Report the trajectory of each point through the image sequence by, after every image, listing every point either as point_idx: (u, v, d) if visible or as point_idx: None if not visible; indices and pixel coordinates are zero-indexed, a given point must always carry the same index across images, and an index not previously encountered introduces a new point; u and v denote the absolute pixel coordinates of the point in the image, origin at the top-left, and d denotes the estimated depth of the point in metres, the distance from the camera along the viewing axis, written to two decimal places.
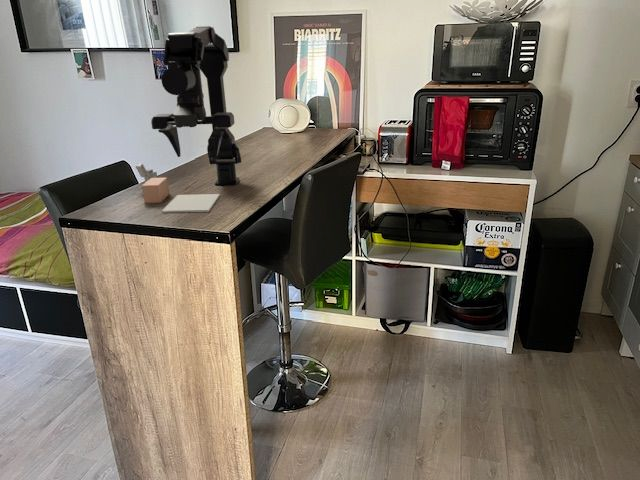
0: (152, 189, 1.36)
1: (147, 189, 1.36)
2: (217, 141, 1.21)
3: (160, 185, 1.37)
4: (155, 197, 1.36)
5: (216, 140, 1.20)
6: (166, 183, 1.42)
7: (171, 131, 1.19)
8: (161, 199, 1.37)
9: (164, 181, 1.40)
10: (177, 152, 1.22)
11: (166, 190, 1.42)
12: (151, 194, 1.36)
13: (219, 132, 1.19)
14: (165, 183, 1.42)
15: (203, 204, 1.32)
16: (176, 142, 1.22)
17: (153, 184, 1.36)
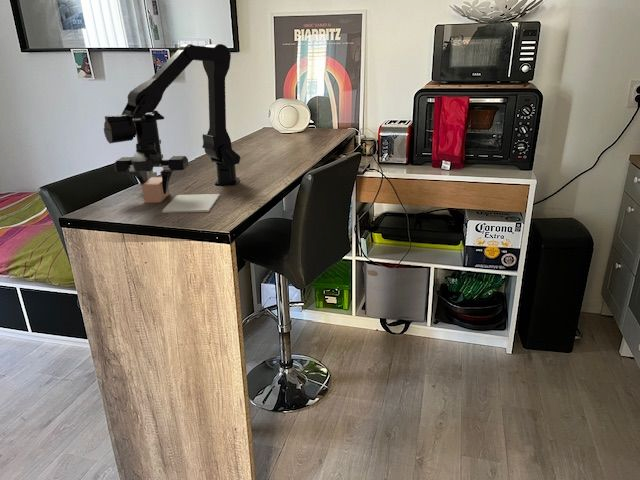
0: (152, 188, 1.36)
1: (147, 188, 1.36)
2: (165, 181, 1.38)
3: (160, 184, 1.37)
4: (155, 196, 1.36)
5: (164, 181, 1.38)
6: None
7: (140, 173, 1.36)
8: (161, 198, 1.37)
9: None
10: None
11: None
12: (151, 193, 1.36)
13: (166, 174, 1.36)
14: None
15: (203, 204, 1.32)
16: None
17: (153, 183, 1.36)
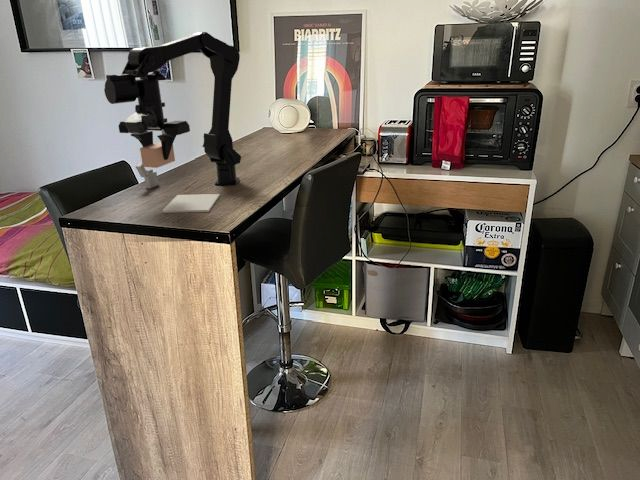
0: (149, 153, 1.31)
1: (145, 152, 1.31)
2: (164, 146, 1.32)
3: (158, 149, 1.31)
4: (152, 161, 1.31)
5: (163, 145, 1.32)
6: None
7: (141, 135, 1.32)
8: (158, 164, 1.32)
9: None
10: None
11: (169, 156, 1.36)
12: (148, 158, 1.31)
13: (163, 138, 1.30)
14: None
15: (203, 204, 1.32)
16: None
17: (151, 148, 1.31)
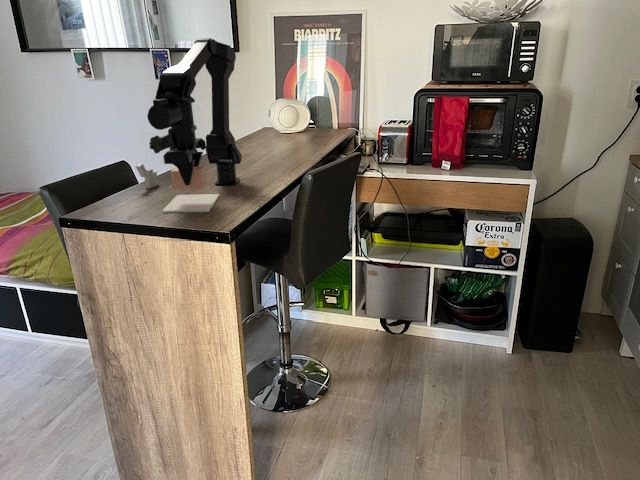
0: None
1: None
2: None
3: (177, 173, 1.30)
4: None
5: None
6: (197, 176, 1.30)
7: None
8: (175, 186, 1.31)
9: None
10: None
11: (194, 182, 1.30)
12: None
13: None
14: (195, 175, 1.30)
15: (203, 204, 1.32)
16: None
17: (175, 169, 1.31)
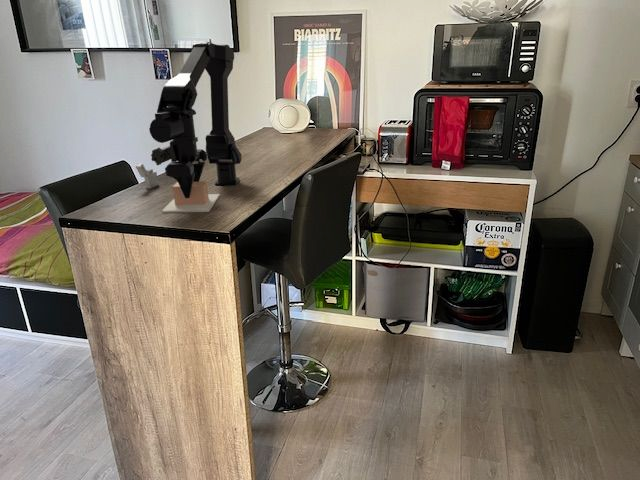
0: None
1: None
2: None
3: (179, 188, 1.31)
4: None
5: None
6: (198, 191, 1.31)
7: None
8: (177, 201, 1.32)
9: (193, 187, 1.31)
10: None
11: (196, 198, 1.32)
12: None
13: None
14: (197, 190, 1.31)
15: (203, 204, 1.32)
16: None
17: (177, 185, 1.32)
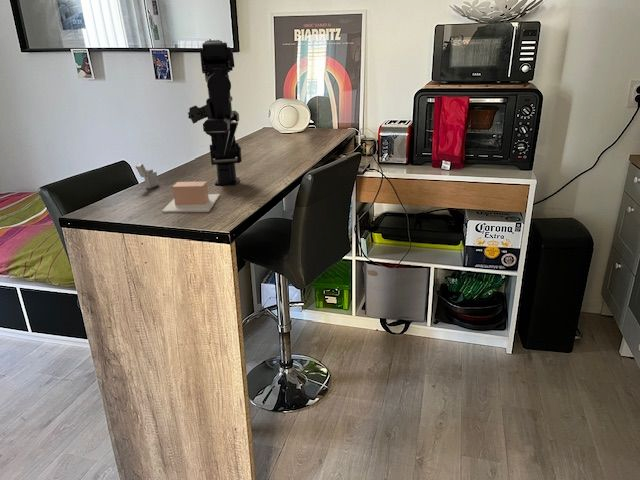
0: None
1: None
2: None
3: (179, 188, 1.31)
4: None
5: None
6: (198, 191, 1.31)
7: None
8: (177, 201, 1.32)
9: (193, 187, 1.31)
10: None
11: (196, 198, 1.32)
12: None
13: None
14: (197, 190, 1.31)
15: (203, 204, 1.32)
16: None
17: (177, 185, 1.32)
